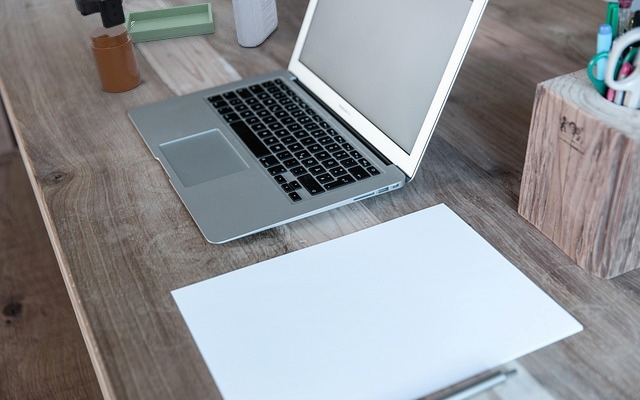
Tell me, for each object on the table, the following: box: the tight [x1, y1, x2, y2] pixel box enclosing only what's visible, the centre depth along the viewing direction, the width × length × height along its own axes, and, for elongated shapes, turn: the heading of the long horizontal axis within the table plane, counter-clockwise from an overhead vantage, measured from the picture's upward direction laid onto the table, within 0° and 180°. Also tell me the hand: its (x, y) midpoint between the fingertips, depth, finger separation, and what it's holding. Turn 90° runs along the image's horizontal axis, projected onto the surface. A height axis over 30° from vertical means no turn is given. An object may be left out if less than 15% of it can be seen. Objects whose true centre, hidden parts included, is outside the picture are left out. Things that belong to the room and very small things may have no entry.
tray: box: [123, 2, 215, 44], centre depth 125 cm, size 15×10×2 cm
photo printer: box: [231, 0, 279, 48], centre depth 116 cm, size 10×4×12 cm, turn 162°
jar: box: [89, 24, 142, 94], centre depth 105 cm, size 6×6×8 cm
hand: (103, 18), depth 102 cm, fingers closed on lid, 6 cm apart
